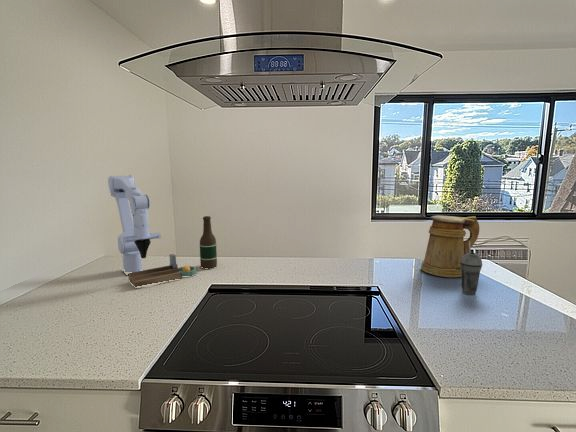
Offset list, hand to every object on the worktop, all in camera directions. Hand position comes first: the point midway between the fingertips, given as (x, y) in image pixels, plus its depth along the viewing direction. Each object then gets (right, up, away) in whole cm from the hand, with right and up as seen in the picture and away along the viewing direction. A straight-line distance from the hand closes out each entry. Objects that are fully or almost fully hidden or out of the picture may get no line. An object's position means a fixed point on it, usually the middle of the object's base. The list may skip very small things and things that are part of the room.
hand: (143, 257), depth 143 cm
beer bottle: (+22, -7, +21) cm, 31 cm away
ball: (+15, -6, +10) cm, 19 cm away
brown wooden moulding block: (+4, -10, +2) cm, 11 cm away
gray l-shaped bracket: (+10, -6, +7) cm, 14 cm away
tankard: (+131, -8, +13) cm, 132 cm away
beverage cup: (+127, -12, -13) cm, 128 cm away
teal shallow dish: (+14, -9, +10) cm, 20 cm away
